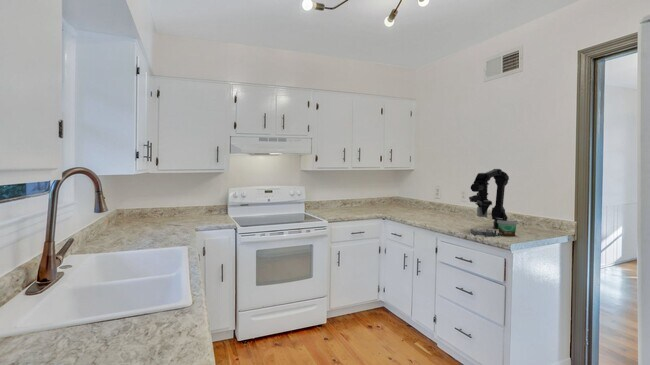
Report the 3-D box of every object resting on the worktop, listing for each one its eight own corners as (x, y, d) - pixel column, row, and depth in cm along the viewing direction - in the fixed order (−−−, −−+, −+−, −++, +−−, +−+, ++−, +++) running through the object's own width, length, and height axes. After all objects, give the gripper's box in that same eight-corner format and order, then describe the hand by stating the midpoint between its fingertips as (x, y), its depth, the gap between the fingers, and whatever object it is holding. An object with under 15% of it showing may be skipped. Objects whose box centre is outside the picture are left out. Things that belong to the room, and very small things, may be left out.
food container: (500, 236, 202) (500, 221, 202) (496, 234, 208) (496, 219, 208) (520, 237, 200) (521, 221, 200) (516, 235, 206) (517, 219, 206)
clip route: (495, 233, 211) (495, 229, 210) (502, 237, 200) (502, 233, 200) (477, 233, 212) (477, 229, 212) (483, 236, 201) (483, 232, 201)
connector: (484, 215, 217) (485, 207, 217) (487, 217, 212) (487, 208, 212) (476, 215, 218) (477, 207, 218) (479, 216, 213) (479, 207, 213)
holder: (487, 232, 215) (487, 228, 214) (493, 235, 205) (493, 231, 205) (470, 232, 216) (470, 228, 216) (475, 235, 206) (475, 231, 206)
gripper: (466, 190, 225) (465, 212, 225) (474, 192, 206) (474, 215, 207) (482, 190, 223) (482, 212, 224) (492, 192, 205) (492, 216, 205)
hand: (482, 214), depth 215 cm, fingers closed on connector, 5 cm apart
